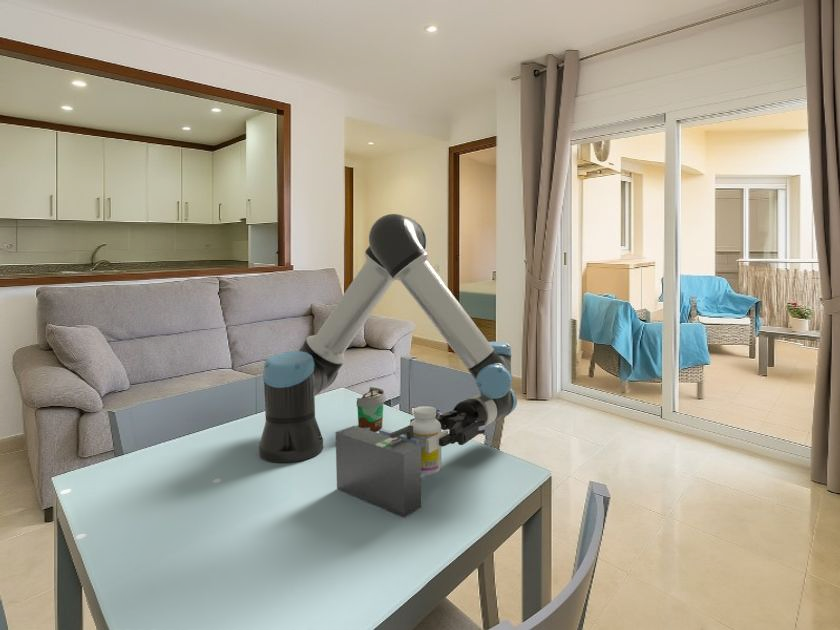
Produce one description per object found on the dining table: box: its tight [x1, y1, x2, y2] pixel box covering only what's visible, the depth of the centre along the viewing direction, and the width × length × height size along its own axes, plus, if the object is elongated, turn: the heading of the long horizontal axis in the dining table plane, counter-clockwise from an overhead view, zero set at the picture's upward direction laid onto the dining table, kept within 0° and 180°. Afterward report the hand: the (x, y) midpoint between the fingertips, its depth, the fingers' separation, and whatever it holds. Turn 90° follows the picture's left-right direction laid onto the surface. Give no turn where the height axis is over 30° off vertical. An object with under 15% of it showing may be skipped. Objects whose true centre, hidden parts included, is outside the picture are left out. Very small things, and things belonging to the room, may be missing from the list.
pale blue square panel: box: [378, 424, 419, 445], centre depth 101 cm, size 10×6×12 cm, turn 51°
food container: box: [356, 386, 387, 433], centre depth 138 cm, size 12×6×10 cm, turn 168°
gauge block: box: [335, 425, 422, 518], centre depth 98 cm, size 18×5×12 cm, turn 52°
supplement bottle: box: [409, 405, 442, 475], centre depth 104 cm, size 7×7×13 cm
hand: (413, 442), depth 101 cm, fingers closed on supplement bottle, 7 cm apart
